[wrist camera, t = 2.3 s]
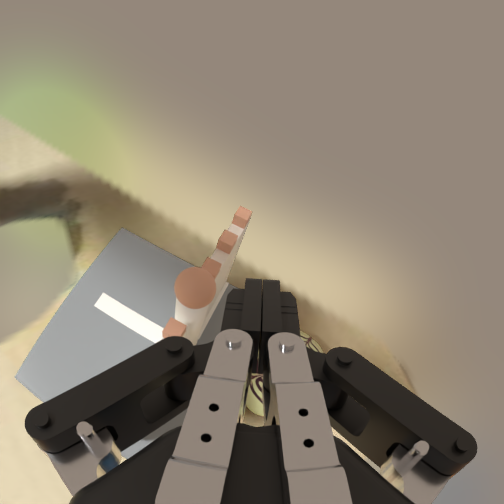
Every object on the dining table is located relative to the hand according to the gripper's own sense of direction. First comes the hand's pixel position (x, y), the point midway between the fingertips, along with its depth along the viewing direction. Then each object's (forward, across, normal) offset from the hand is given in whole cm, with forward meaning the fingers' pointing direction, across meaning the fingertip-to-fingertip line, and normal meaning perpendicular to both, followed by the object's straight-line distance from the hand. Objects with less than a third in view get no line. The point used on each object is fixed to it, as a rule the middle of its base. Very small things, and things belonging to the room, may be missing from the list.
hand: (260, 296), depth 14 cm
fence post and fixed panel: (+16, +6, +15) cm, 22 cm away
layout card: (+12, +13, +16) cm, 23 cm away
